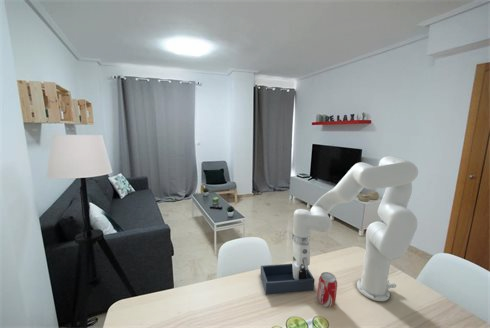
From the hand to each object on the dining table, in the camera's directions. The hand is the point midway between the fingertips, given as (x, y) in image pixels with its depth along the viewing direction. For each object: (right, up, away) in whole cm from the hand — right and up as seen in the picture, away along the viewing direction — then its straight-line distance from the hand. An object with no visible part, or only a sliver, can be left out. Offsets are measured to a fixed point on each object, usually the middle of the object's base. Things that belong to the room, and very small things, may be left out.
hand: (299, 272), depth 102 cm
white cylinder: (0, -3, +1) cm, 3 cm away
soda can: (+9, -8, -10) cm, 15 cm away
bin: (-6, -5, 0) cm, 8 cm away
